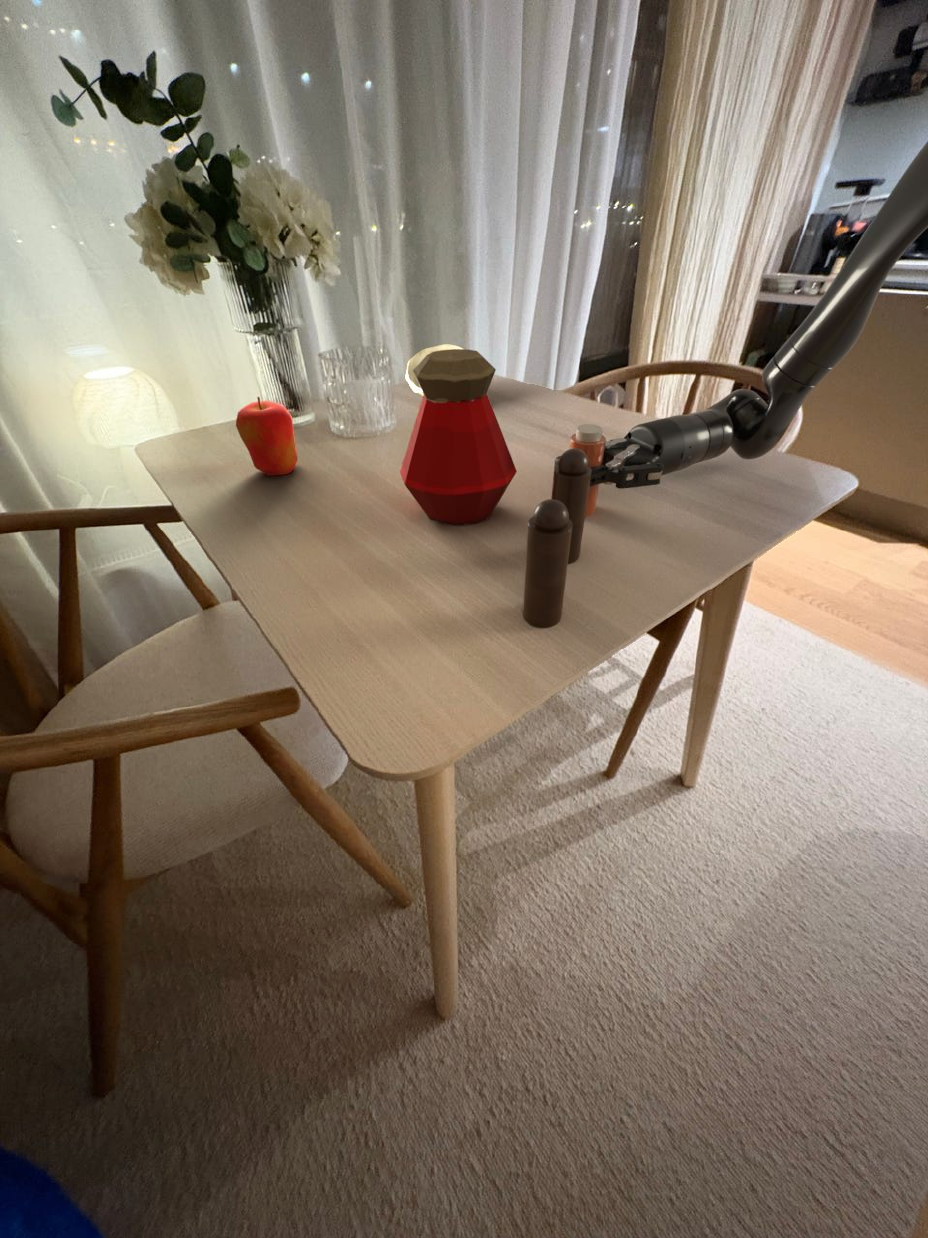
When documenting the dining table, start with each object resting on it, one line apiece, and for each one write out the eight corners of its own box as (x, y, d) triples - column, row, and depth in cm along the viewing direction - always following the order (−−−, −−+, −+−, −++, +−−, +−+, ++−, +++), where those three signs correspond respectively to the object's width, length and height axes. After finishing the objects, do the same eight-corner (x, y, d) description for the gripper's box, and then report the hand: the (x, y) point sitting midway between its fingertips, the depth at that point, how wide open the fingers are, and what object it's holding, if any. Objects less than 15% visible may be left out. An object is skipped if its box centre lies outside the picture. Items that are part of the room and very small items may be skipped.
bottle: (396, 535, 65) (373, 371, 52) (411, 489, 75) (395, 343, 62) (515, 536, 64) (522, 369, 51) (514, 489, 74) (520, 340, 61)
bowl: (398, 410, 104) (392, 358, 97) (421, 390, 114) (417, 342, 107) (466, 415, 100) (464, 361, 94) (483, 394, 110) (483, 344, 104)
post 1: (564, 607, 53) (578, 493, 44) (557, 631, 50) (571, 515, 41) (527, 600, 54) (535, 488, 45) (518, 623, 51) (524, 508, 42)
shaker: (596, 503, 70) (609, 424, 63) (592, 518, 67) (605, 436, 60) (566, 499, 71) (574, 421, 64) (560, 514, 68) (568, 433, 61)
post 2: (581, 548, 61) (597, 444, 53) (576, 566, 58) (591, 458, 50) (550, 544, 62) (559, 440, 54) (543, 561, 60) (552, 454, 51)
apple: (245, 469, 83) (220, 396, 76) (293, 456, 87) (273, 385, 79) (263, 486, 78) (238, 409, 70) (312, 471, 82) (294, 397, 74)
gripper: (635, 404, 72) (538, 427, 67) (714, 435, 62) (607, 464, 57) (626, 454, 77) (534, 479, 71) (697, 490, 67) (598, 522, 62)
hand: (567, 472), depth 64 cm, fingers closed on shaker, 4 cm apart
